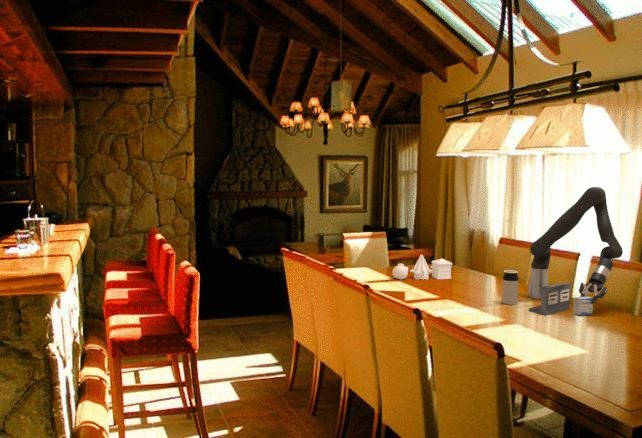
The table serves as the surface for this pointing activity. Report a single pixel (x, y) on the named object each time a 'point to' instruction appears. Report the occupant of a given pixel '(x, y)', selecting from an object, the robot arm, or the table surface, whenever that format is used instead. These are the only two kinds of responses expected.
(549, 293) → the label panel
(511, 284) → the travel mug
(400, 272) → the decorative object set
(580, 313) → the medicine box
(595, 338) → the table surface
